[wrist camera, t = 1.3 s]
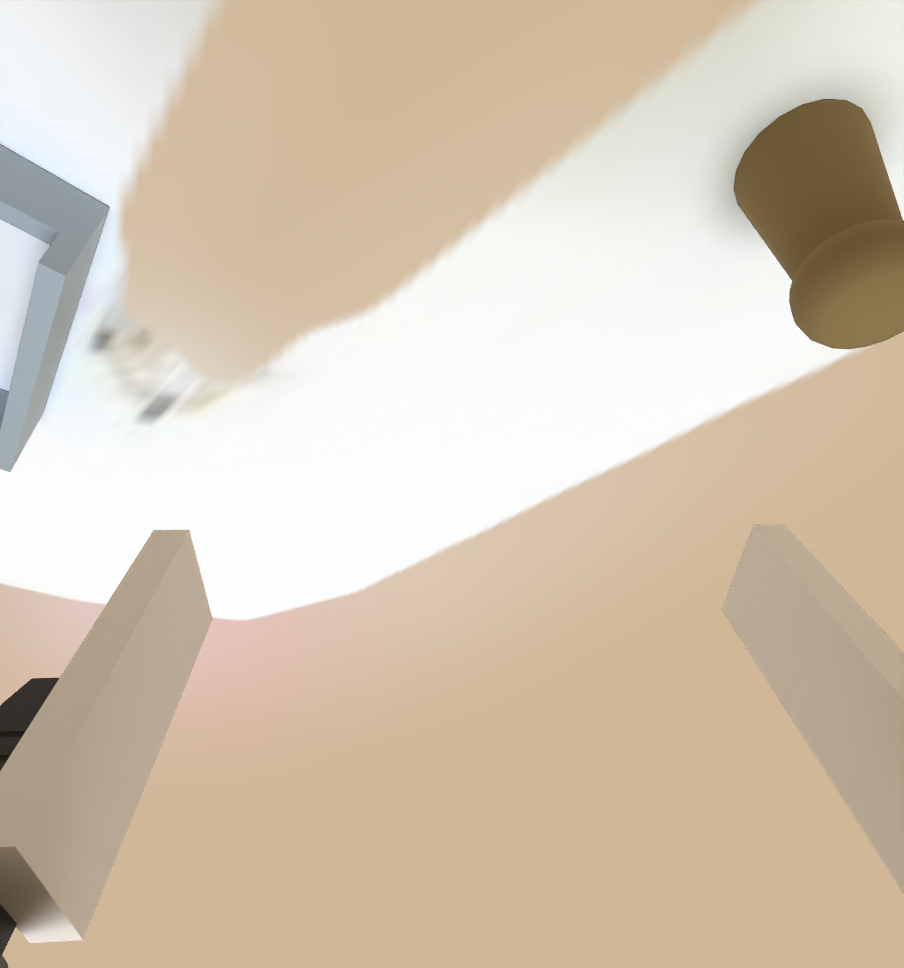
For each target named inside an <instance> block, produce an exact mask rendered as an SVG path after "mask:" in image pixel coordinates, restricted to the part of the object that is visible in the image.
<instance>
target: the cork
mask: <svg viewBox="0 0 904 968" xmlns="http://www.w3.org/2000/svg"><path fill="white" fill-rule="evenodd" d="M734 192H735V196H736V200H737V203H738V205H739V206H740V208H741V209H742V211H743V212H744V214H745V215H746V216H747V218H748V219H749V221H750V222H751V223H752V225H753V226H754V228H755V229H756V230H757V232H758V233H759V235H760V236H761V237H762V239H763V240H764V242H765V243H766V244H767V246H768V247H769V249H770V250H771V252H772V253H773V254H774V256H775V257H776V259H777V260H778V261H779V263H780V264H781V266H782V267H783V268H784V270H785V271H786V273H787V274H788V275H789V277H790V278H791V280H792V284H791V288H790V298H789V302H790V307H791V311H792V315H793V318H794V321H795V323H796V325H797V326H798V327H799V328H800V329H801V330H802V331H803V332H804V333H805V334H806V335H807V336H808V337H809V338H810V340H812V341H815V342H817V343H820V344H823V345H825V346H828V347H831V348H837V349H853V348H860V347H867V346H870V345H873V344H876V343H879V342H882V341H885V340H887V339H890V338H891V337H893V336H895V335H897V334H899V333H901V332H903V331H904V221H903V219H902V216H901V213H900V210H899V207H898V204H897V201H896V198H895V195H894V192H893V189H892V186H891V183H890V180H889V177H888V174H887V171H886V168H885V165H884V162H883V159H882V156H881V153H880V149H879V146H878V143H877V140H876V137H875V134H874V131H873V128H872V125H871V122H870V121H869V119H868V118H867V116H866V114H865V113H864V111H863V109H862V108H860V107H858V106H856V105H854V104H852V103H851V102H849V101H847V100H833V99H824V100H820V101H816V102H812V103H808V104H804V105H801V106H799V107H797V108H795V109H793V110H792V111H790V112H788V113H786V114H784V115H782V116H780V117H779V118H777V119H776V120H775V121H774V122H773V123H771V124H770V125H769V126H768V127H767V128H765V129H764V130H763V131H762V132H761V133H760V134H759V135H758V136H757V137H756V139H755V140H754V141H753V142H752V144H751V145H750V146H749V147H748V149H747V150H746V151H745V153H744V155H743V157H742V159H741V162H740V164H739V166H738V168H737V170H736V175H735V183H734Z"/></svg>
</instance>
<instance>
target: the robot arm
mask: <svg viewBox="0 0 904 968" xmlns="http://www.w3.org/2000/svg"><path fill="white" fill-rule="evenodd" d="M721 610H722V611H723V613H724V614H725V616H726V618H727V619H728V621H729V622H730V624H731V625H732V627H733V629H734V630H735V632H736V633H737V635H738V636H739V638H740V639H741V641H742V642H743V644H744V646H745V647H746V649H747V650H748V652H749V653H750V655H751V657H752V658H753V660H754V661H755V663H756V664H757V666H758V668H759V669H760V671H761V672H762V674H763V675H764V677H765V678H766V680H767V682H768V683H769V685H770V686H771V688H772V689H773V691H774V693H775V694H776V696H777V697H778V699H779V700H780V702H781V703H782V705H783V707H784V708H785V710H786V711H787V713H788V714H789V716H790V717H791V719H792V721H793V722H794V723H795V725H796V727H797V728H798V730H799V732H800V733H801V735H802V736H803V738H804V739H805V741H806V743H807V744H808V746H809V747H810V749H811V750H812V751H813V753H814V755H815V757H816V758H817V760H818V761H819V763H820V764H821V766H822V767H823V769H824V770H825V772H826V774H827V775H828V777H829V778H830V780H831V781H832V783H833V785H834V786H835V788H836V789H837V791H838V793H839V794H840V796H841V797H842V799H843V800H844V802H845V803H846V805H847V806H848V808H849V810H850V811H851V813H852V814H853V816H854V817H855V819H856V821H857V822H858V824H859V825H860V827H861V828H862V830H863V831H864V833H865V835H866V836H867V838H868V839H869V841H870V842H871V844H872V846H873V847H874V849H875V850H876V852H877V853H878V855H879V856H880V858H881V860H882V861H883V863H884V864H885V866H886V867H887V869H888V870H889V872H890V874H891V875H892V877H893V878H894V880H895V882H896V883H897V885H898V886H899V888H900V889H901V891H902V892H903V894H904V652H903V651H902V650H901V649H900V648H899V647H898V646H897V645H896V644H895V643H894V641H892V639H891V638H890V637H889V636H888V635H887V634H886V633H885V632H884V631H883V630H882V629H881V628H880V627H879V625H878V624H877V623H876V622H875V621H874V620H873V619H872V618H871V617H870V616H869V615H868V614H867V613H866V612H865V610H864V609H863V608H861V606H860V605H859V604H858V603H857V602H856V601H855V600H854V599H853V598H852V597H851V595H850V594H849V593H848V592H847V591H846V590H845V589H844V588H843V587H842V586H841V585H840V584H839V583H838V582H837V580H836V579H835V578H834V577H833V576H832V575H831V574H830V573H829V572H828V571H827V570H826V569H825V568H824V567H823V565H822V564H821V563H820V562H819V561H818V560H817V559H816V558H815V557H814V556H813V555H812V554H811V553H810V552H809V551H808V550H807V548H806V547H805V546H804V545H803V544H802V543H801V542H800V541H799V540H798V539H797V538H796V537H795V536H794V534H792V532H791V531H790V530H789V529H788V528H787V527H786V526H785V525H783V524H782V525H781V524H780V525H753V527H752V530H751V533H750V535H749V538H748V540H747V543H746V546H745V548H744V551H743V554H742V556H741V559H740V561H739V564H738V567H737V569H736V572H735V575H734V577H733V580H732V582H731V585H730V587H729V590H728V592H727V595H726V598H725V600H724V603H723V605H722V608H721ZM211 621H212V616H211V612H210V608H209V604H208V600H207V597H206V593H205V589H204V585H203V581H202V577H201V574H200V570H199V566H198V562H197V558H196V554H195V551H194V547H193V543H192V539H191V535H190V532H189V530H154V531H153V532H152V534H151V535H150V537H149V539H148V540H147V542H146V543H145V545H144V546H143V548H142V550H141V551H140V553H139V554H138V556H137V557H136V559H135V561H134V562H133V564H132V565H131V567H130V568H129V570H128V572H127V573H126V575H125V576H124V578H123V579H122V581H121V583H120V584H119V586H118V587H117V589H116V590H115V592H114V594H113V595H112V597H111V598H110V600H109V601H108V603H107V604H106V606H105V608H104V609H103V611H102V613H101V614H100V616H99V617H98V619H97V620H96V622H95V623H94V625H93V627H92V628H91V630H90V631H89V633H88V634H87V636H86V638H85V639H84V641H83V642H82V644H81V645H80V647H79V649H78V650H77V652H76V653H75V655H74V656H73V658H72V659H71V661H70V663H69V664H68V666H67V667H66V669H65V671H64V672H63V674H62V675H61V677H60V678H35V679H31V680H30V681H28V682H27V683H26V684H25V685H24V686H23V687H21V688H20V689H19V690H18V691H17V692H15V693H14V694H13V695H12V696H11V697H9V698H8V699H7V700H6V701H5V702H4V703H2V705H1V706H0V968H8V964H7V962H6V960H5V959H4V957H3V956H2V953H3V951H4V949H5V947H6V945H7V943H8V941H9V939H10V937H11V935H12V933H13V931H14V929H15V927H17V928H18V930H19V931H20V932H21V933H22V934H23V935H24V936H25V938H26V939H27V940H28V941H29V942H30V943H38V942H54V941H55V942H56V941H71V940H72V941H73V940H83V939H84V936H85V934H86V931H87V929H88V926H89V924H90V921H91V919H92V916H93V914H94V911H95V909H96V906H97V904H98V901H99V899H100V897H101V894H102V892H103V889H104V887H105V884H106V882H107V879H108V877H109V874H110V872H111V869H112V867H113V864H114V862H115V859H116V857H117V854H118V852H119V849H120V847H121V844H122V842H123V840H124V837H125V835H126V832H127V830H128V827H129V825H130V822H131V820H132V817H133V815H134V812H135V810H136V807H137V805H138V802H139V800H140V797H141V795H142V792H143V790H144V787H145V785H146V782H147V780H148V778H149V775H150V773H151V770H152V768H153V765H154V763H155V760H156V758H157V755H158V753H159V750H160V748H161V745H162V743H163V740H164V738H165V735H166V733H167V730H168V728H169V725H170V723H171V721H172V718H173V716H174V713H175V711H176V708H177V706H178V703H179V701H180V698H181V696H182V693H183V691H184V688H185V686H186V683H187V681H188V678H189V676H190V673H191V671H192V668H193V666H194V664H195V661H196V658H197V656H198V654H199V651H200V649H201V646H202V644H203V641H204V639H205V636H206V634H207V631H208V629H209V626H210V624H211Z"/></svg>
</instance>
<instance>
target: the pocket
mask: <svg viewBox="0 0 904 968" xmlns="http://www.w3.org/2000/svg"><path fill="white" fill-rule="evenodd" d="M108 210H109V207H108V206H107V205H105V204H103V203H101V202H100V201H98V200H96V199H94V198H93V197H91V196H89V195H87V194H86V193H84V192H82V191H80V190H79V189H77V188H75V187H73V186H72V185H70V184H68V183H66V182H65V181H63V180H61V179H59V178H58V177H56V176H54V175H52V174H51V173H49V172H47V171H45V170H44V169H42V168H40V167H38V166H37V165H35V164H33V163H32V162H30V161H28V160H26V159H25V158H23V157H21V156H19V155H18V154H16V153H14V152H12V151H11V150H9V149H7V148H5V147H4V146H2V145H0V219H1V220H3V221H5V222H7V223H9V224H11V225H13V226H15V227H17V228H19V229H21V230H23V231H24V232H26V233H28V234H30V235H32V236H34V237H36V238H38V239H40V240H42V241H44V242H46V243H48V244H50V247H49V248H48V250H47V251H46V253H45V254H44V255H43V257H42V258H41V260H40V261H39V263H38V267H37V272H36V276H35V280H34V285H33V289H32V294H31V298H30V302H29V307H28V311H27V315H26V320H25V324H24V329H23V333H22V337H21V342H20V346H19V351H18V355H17V359H16V364H15V368H14V373H13V377H12V381H11V386H10V390H9V392H7V391H4V390H2V389H0V469H2V470H5V471H9V472H10V471H11V470H12V468H13V466H14V464H15V463H16V461H17V459H18V457H19V455H20V454H21V452H22V450H23V448H24V446H25V445H26V443H27V441H28V439H29V437H30V436H31V434H32V432H33V430H34V428H35V427H36V425H37V423H38V421H39V419H40V418H41V416H42V414H43V412H44V409H45V405H46V402H47V399H48V396H49V393H50V390H51V387H52V384H53V381H54V378H55V375H56V371H57V368H58V365H59V362H60V359H61V356H62V353H63V350H64V347H65V344H66V340H67V337H68V334H69V331H70V328H71V325H72V322H73V319H74V316H75V313H76V310H77V306H78V303H79V300H80V297H81V294H82V291H83V288H84V285H85V282H86V279H87V275H88V272H89V269H90V266H91V263H92V260H93V257H94V254H95V251H96V248H97V245H98V241H99V238H100V235H101V232H102V229H103V226H104V223H105V220H106V217H107V214H108Z"/></svg>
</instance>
